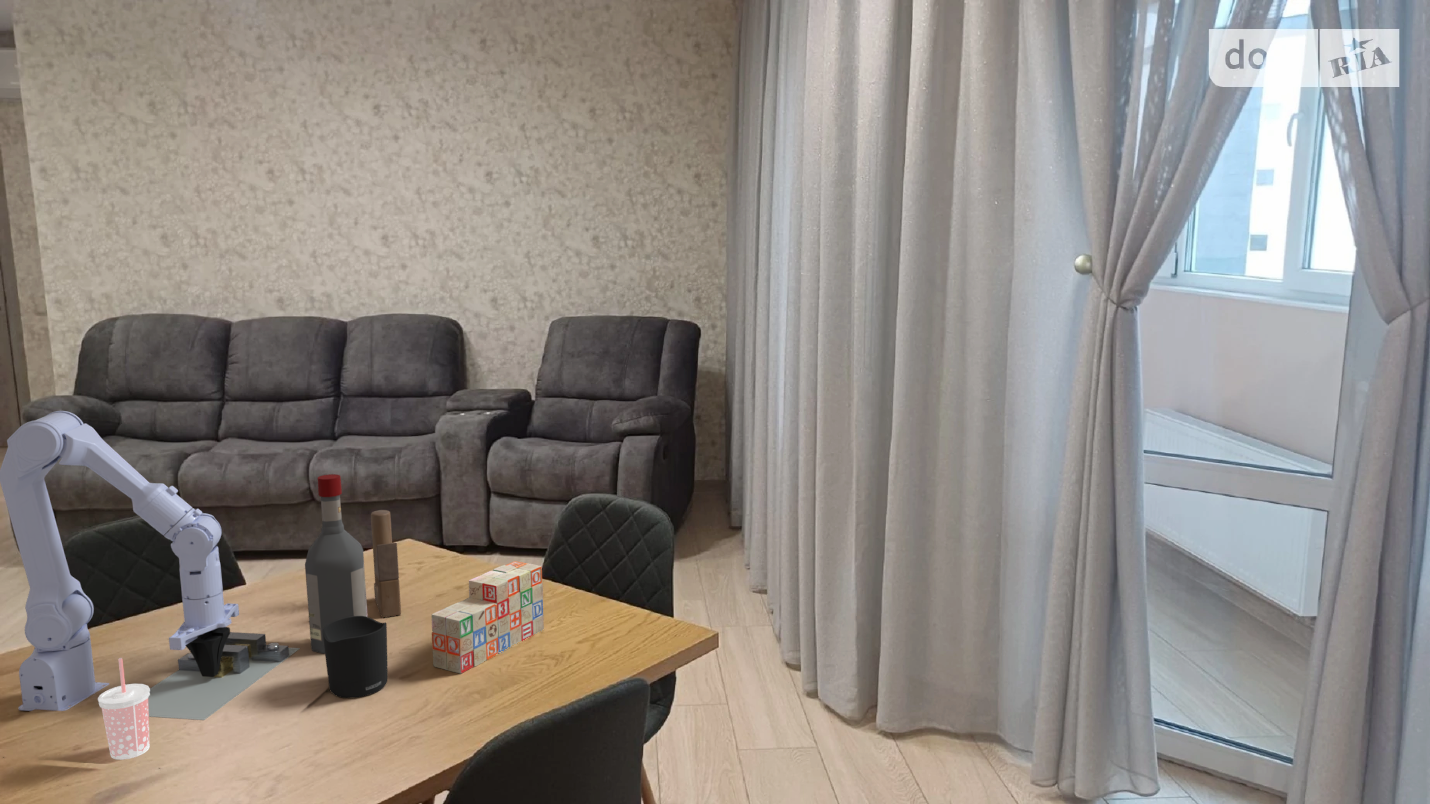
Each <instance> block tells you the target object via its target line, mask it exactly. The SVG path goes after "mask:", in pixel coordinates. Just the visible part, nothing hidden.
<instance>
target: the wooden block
mask: <svg viewBox="0 0 1430 804" xmlns="http://www.w3.org/2000/svg"><path fill="white" fill-rule="evenodd" d="M391 517H392V516H391V511H389V510H387V509H379V510H375V511H372V512H371V513H370V523H371V525H370V526H371V538H372V539H371V541H372V555H373V556H372V557H373V571H374V572H373V573H374V583H373V589H374V591H373V592H374V600H375V603H376V606H377V608H378V611H379V614H380V617H381V618H382V617H385V618H390V616H392V617H397V616H396V615H398V616H401V615H402V606H401V603H402V602H401V589H400V588H401V587H400V579H399V578H400V575H399V574H400V572H399V557H398V555H399V554H398V553H399V552H398V542H393V537H392V536H393V535H392V519H391Z"/></svg>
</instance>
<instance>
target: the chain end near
mask: <svg viewBox="0 0 1430 804" xmlns="http://www.w3.org/2000/svg"><path fill="white" fill-rule="evenodd" d="M222 656H223V657H232V661H233V673H235V674H241V673H242V672H244V671H245V670H246V669H248V668H249V667H250V666H249V655H248V646H241V645H224V648H223V652H222ZM177 664H178V665H177V666H178V670H184V671H200V670H199V667H198V665H197V662H196V660H195V658H194V657H193V655H192V653H191V652H188V653H187V654H185V655H183V656H181V657H180V658H178V659H177Z"/></svg>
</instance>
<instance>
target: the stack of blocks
mask: <svg viewBox="0 0 1430 804" xmlns="http://www.w3.org/2000/svg"><path fill="white" fill-rule="evenodd" d="M542 569H543V568H542V565H537V564H533V563H527V562H522V561H516V560H514V561H512V562H510V563H507V564H503V565H500V566H498V567H495V568H493V569H492V570H489V571H486V572H485V573H483V574H481V575H478V576H476V577H473V578H471V579H469V580H468V598H465V599H463V600H460V601H458V602H456V603H453V604H451V605H449V606H447V607H444V608H442V609H440V610H438V611H435V612H433V613H432V614H431V631H432V632H431V647H432V659H433V664H432V665H433V667H435V668H439V669H442V670H445V671H450V672H453V673H456V674H463V673H465V672H467V671H468V670H470V669H472V668H475V667H477V666H479V665H481V664H482V663H485V662H487V661H489V660H490V659H492V658H494V657H496V656H497V655H496V654H498V653H499V652H501V651H503V652H505V651H506V650H505V649H507V648H508V647H510V648H512V647H513V646H512V645H514V644H516V645H518V644H519V643H518V642H520V641H522V642H524V641H526V640H527V639H526V638H528V637H530V638H532V637H533V636H532V635H534V634H536V635H538V634H539V633H541V632H543V631H544V630H545V626H544V624H545V622H544V621H545V618H544V586H543V585H544V582H543V570H542ZM543 629H544V630H543ZM542 630H543V631H542ZM540 631H541V632H540ZM538 632H539V633H538ZM537 633H538V634H537ZM531 636H532V637H531ZM534 636H535V635H534ZM525 639H526V640H525ZM528 639H529V638H528ZM523 640H524V641H523ZM517 643H518V644H517ZM520 643H521V642H520ZM511 646H512V647H511ZM514 646H515V645H514ZM504 650H505V651H504ZM507 650H508V649H507ZM501 653H502V652H501ZM499 654H500V653H499ZM499 654H498V655H499ZM495 655H496V656H495ZM493 656H494V657H493ZM489 658H490V659H489ZM484 661H485V662H484Z"/></svg>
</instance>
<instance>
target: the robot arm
mask: <svg viewBox="0 0 1430 804" xmlns="http://www.w3.org/2000/svg"><path fill="white" fill-rule="evenodd" d="M6 443H7V449H6V453H5V455H4V458H3V461H2V463H1V466H0V487H1V490H2V492H3V493H2V494H3V496H4V500H5V501H4V502H5V504H6V507H7V511H8V514H9V519H10V521H11V526H12V529H13V533H14V536H15V539H16V543H17V546H18V550H19V554H20V558H21V562H22V565H23V568H24V571H25V575H26V578H27V583H28V585H29V591H28V594H27V598H26V602H25V606H24V607H25V612H26V623H25V625H24V635H25V638H26V640H27V641H28V643H29V644H31V646H33V647H34V649H33V651H32V653H31V654H30V656H28V657H27V658H26V659H24V660H23V662H22V663H21V664H20V667H19V671H18V676H19V684H20V691H21V693H20V694H21V700H22V701H21V702H22V704H21V705H19V706H18V708H17V709H18V711H27V712H28V711H29V712H32V711H34V710H43V711H44V710H45V711H55V712H56V711H58V712H63V711H64V712H65V711H68V710H69V709H71V708H73V707H75V706H76V705H77V704H79V703H81V702H82V701H85V699H87V698H89V697H91V696H92V695H94V694H96V693H98V692H99V691H101V690H102V689H104V688H105V687H107V686H109V685H110V683H109V682H98V681H97V682H96V677H95V669H94V659H93V650H92V642H91V640H92V639H91V632H90V631H89V629H88V623H89V622H90V621H91V619H92V618H93V615H94V610H95V609H94V603H93V601H92V600H91V598H90V597H89V596H88V595H86V593H85V592H84V590H83V589H82V585H81V582H80V581H79V580H78V579H76V578H75V577H73V576H72V575H71V573H70V568H69V565H68V561H67V559H66V554H65V551H64V547H63V544H62V543H63V542H62V540H61V535H60V532H59V528H58V525H57V521H56V518H55V513H54V510H53V507H52V503H51V500H50V495H49V491H48V489H47V485H46V484H47V483H46V481H45V478H46V476H47V474H49V472H50V471H51V470H52V469H53V467H54V466H55V465H56V464H57V463H58V465H62V466H77V467H78V466H79V467H80V466H81V467H82V466H83V467H87V468H88V469H90V470H91V471H92V472H94V473H95V474H97V475H98V476H100V477H101V478H102V479H104V480H105V481H106V482H108V484H110V485H111V486H113V487H115V488H116V489H117V490H118V491H120V492H121V493H123V494H124V495H126V496H127V497H128V498H129V499H131V503H132V510H133V511H132V512H133V513H135V514H136V515H137V516H138V517H140V518H141V519H142V520H144V521H145V522H146V523H147V524H148V525H149V526H150V527H152V528H153V529H154V530H155V531H157V532H158V533H160V534H161V535H162V536H164V538H165V539H167V540H168V541H169V540H170V541H171V542H172V543H170V548H171V551H172V552H173V553H174V555H175V556H176V557H177V558H178V562H179V580H180V587H181V588H180V589H181V600H182V607H183V619H184V621H183V623H181V625H180V626H179V627H178V629H177V630H176V631H175V633H173V634H172V635H171V636H168V642H169V644H168V645H169V650H173V651H183V650H185V649H186V648H187V650H188V651H189V653H192V655H193V657H194V658H195V660H196V662H197V665H198V667H199V670H200V672H201V675H202V676H203V677H214V676H216V675H217V674H218V672H219V667H220V661H221V656H222V652H223V648H224V645H225V643H226V640H227V638H228V636H229V634H230V632H231V628H230V627H228V626H230V625H231V624H232V618H237V617H238V616H239V615H240V609H239V603H229V602H227V603H226V604H225V601H224V589H223V578H222V567H221V562H220V553H219V546H218V543H219V542H220V541H221V540H220V539H221V538H222V537H221V536H222V527H221V524H220V522H219V521H218V520H217V519H216V518H215V516H214V515H212V514H209V513H204V512H203V511H202V510H200V509H199V508H193V506H191V505H190V504H189V503H187V501H186V500H184V499H183V498H182V497H180V496H179V495H178V494H177V493H178V492H179V490H178V489H177V488H176V487H175V486H174V485H170V486H169V487H168V486H167V485H166V484H165V483H159V482H158V483H156V482H155V483H154V482H150V481H148V480H147V479H146V478H145V477H144V476H143V475H141V473H140V472H138V471H137V469H135V468H134V467H133V466H132V465H131V464H130V463H128V461H127V460H125V459H124V457H122V456H121V455H120V454H119V453H118V452H117V451H116V450H114V448H112V447H111V445H109V444H108V443H107V442H106V441H105V439H103V438H102V437H101V436H100V435H99V433H98V432H97V431H96V430H95V429H94V427H92V426H91V425H89V424H88V423H84V422H83V420H82V419H81V418H80V417H79V416H77V415H76V414H75V413H73V412H70V411H66V410H57V411H56V410H55V411H53V412H52V411H51V412H50V413H48V414H46V415H45V416H43V417H40V418H38V419H35V420H31V421H28V422H25V423H24V424H23V423H22V425H21V426H19V427H18V429H16V430H15V432H13V433H12V434H11V436H9V438H7V439H6ZM59 460H60V461H59ZM58 461H59V462H58Z"/></svg>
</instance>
